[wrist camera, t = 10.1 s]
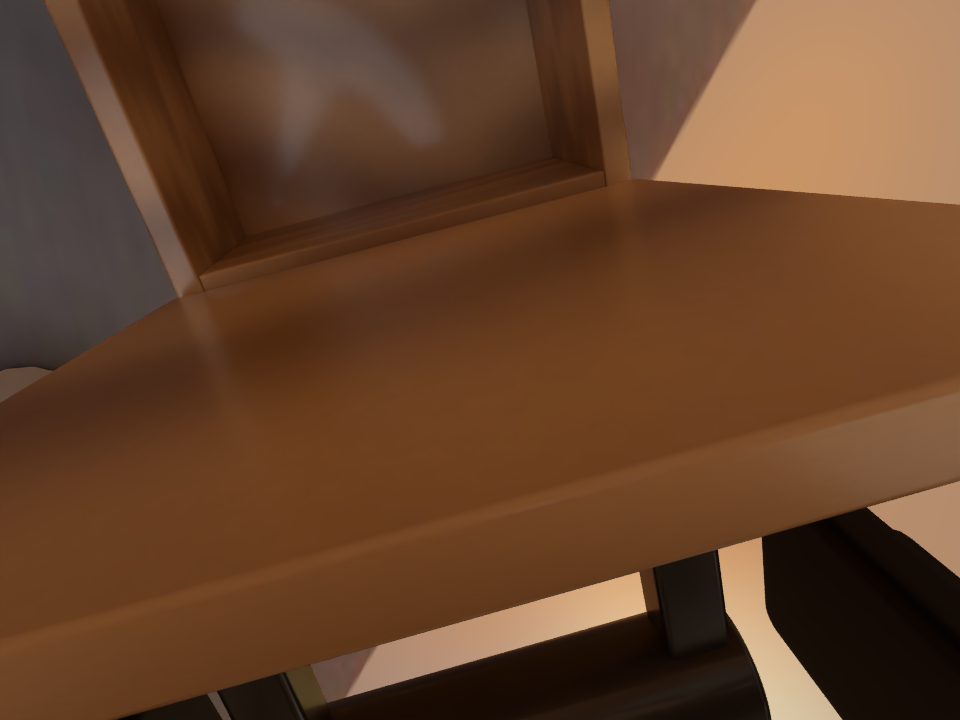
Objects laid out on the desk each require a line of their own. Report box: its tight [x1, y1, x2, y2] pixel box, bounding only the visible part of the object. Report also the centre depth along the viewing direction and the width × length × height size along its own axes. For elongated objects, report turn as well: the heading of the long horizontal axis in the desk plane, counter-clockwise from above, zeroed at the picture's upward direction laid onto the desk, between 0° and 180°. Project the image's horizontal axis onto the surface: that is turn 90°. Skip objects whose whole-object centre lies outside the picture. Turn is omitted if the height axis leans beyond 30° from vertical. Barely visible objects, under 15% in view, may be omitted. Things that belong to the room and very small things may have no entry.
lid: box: [0, 179, 960, 720], centre depth 12 cm, size 15×14×5 cm
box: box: [44, 0, 631, 298], centre depth 19 cm, size 14×14×7 cm
